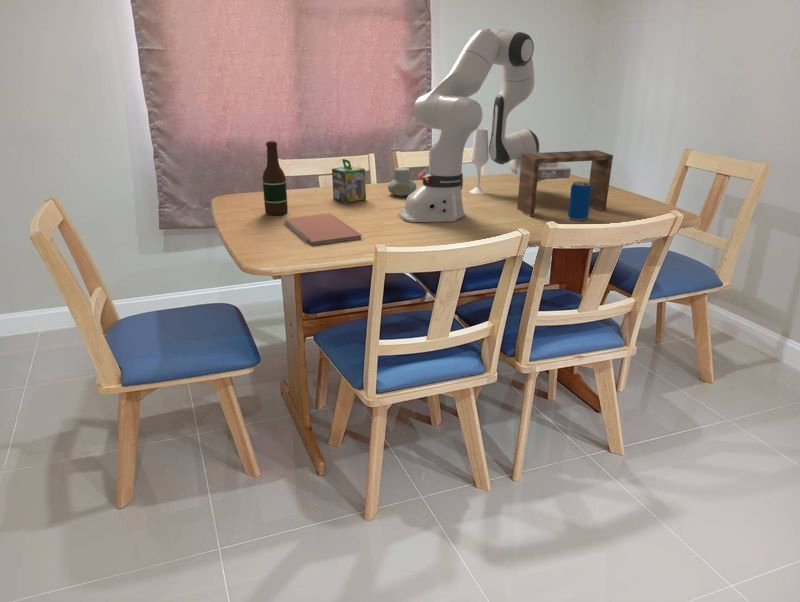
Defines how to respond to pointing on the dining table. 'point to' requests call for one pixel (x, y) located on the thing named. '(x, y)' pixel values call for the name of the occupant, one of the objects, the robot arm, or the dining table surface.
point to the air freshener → (402, 183)
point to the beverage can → (579, 200)
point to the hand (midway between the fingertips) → (553, 176)
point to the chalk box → (348, 183)
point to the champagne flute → (480, 154)
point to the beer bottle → (274, 183)
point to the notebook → (321, 229)
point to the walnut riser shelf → (531, 161)
